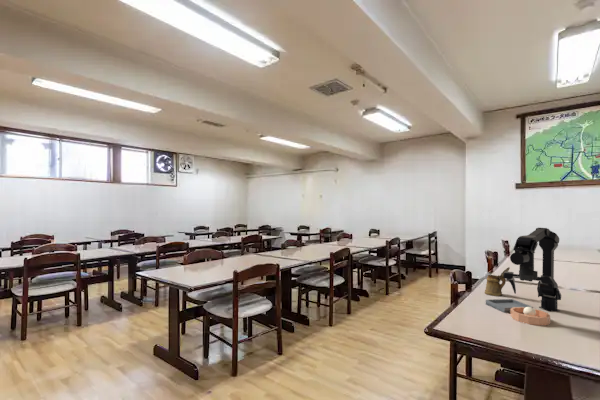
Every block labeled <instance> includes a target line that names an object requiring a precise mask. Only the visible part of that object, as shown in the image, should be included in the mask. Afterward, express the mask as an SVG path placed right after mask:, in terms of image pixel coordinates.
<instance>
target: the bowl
mask: <svg viewBox="0 0 600 400" xmlns="http://www.w3.org/2000/svg"><path fill="white" fill-rule="evenodd" d="M524 308H525V307H513V308H511V309H510V315H509V316H510V318H511V317H512V318H513V319H512V318H511V319H512V320H514V319H515V321H516V322H519V321H520V323H523V322H524V324H526V323H527V325H532V326H548V325H549V324H551V315H550V314H549V313H548V312H547V311H546V312H545V311H544V310H542V309H540V310H539V309H536V308H534V309H535V311H536V316H535V317H534V316H527V315H525V314H524V312H523V310H524Z"/></svg>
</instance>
